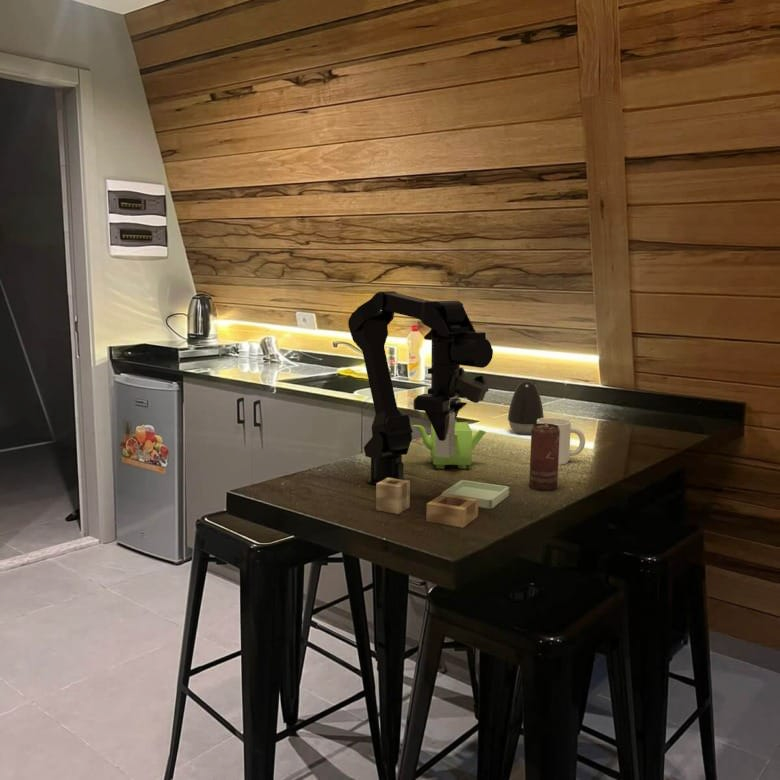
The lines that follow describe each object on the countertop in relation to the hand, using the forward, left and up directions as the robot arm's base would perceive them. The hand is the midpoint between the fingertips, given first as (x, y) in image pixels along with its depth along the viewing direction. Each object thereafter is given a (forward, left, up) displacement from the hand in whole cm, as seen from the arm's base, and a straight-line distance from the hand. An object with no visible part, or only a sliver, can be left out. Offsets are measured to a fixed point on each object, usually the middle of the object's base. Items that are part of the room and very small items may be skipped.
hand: (444, 438), depth 163 cm
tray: (+5, +6, -13) cm, 15 cm away
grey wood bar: (0, 0, -3) cm, 3 cm away
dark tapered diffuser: (-6, +73, -14) cm, 74 cm away
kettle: (-11, +28, -14) cm, 33 cm away
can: (+15, +21, -14) cm, 29 cm away
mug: (+12, +45, -14) cm, 48 cm away
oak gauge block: (+6, -9, -13) cm, 17 cm away
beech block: (-7, -9, -13) cm, 18 cm away
